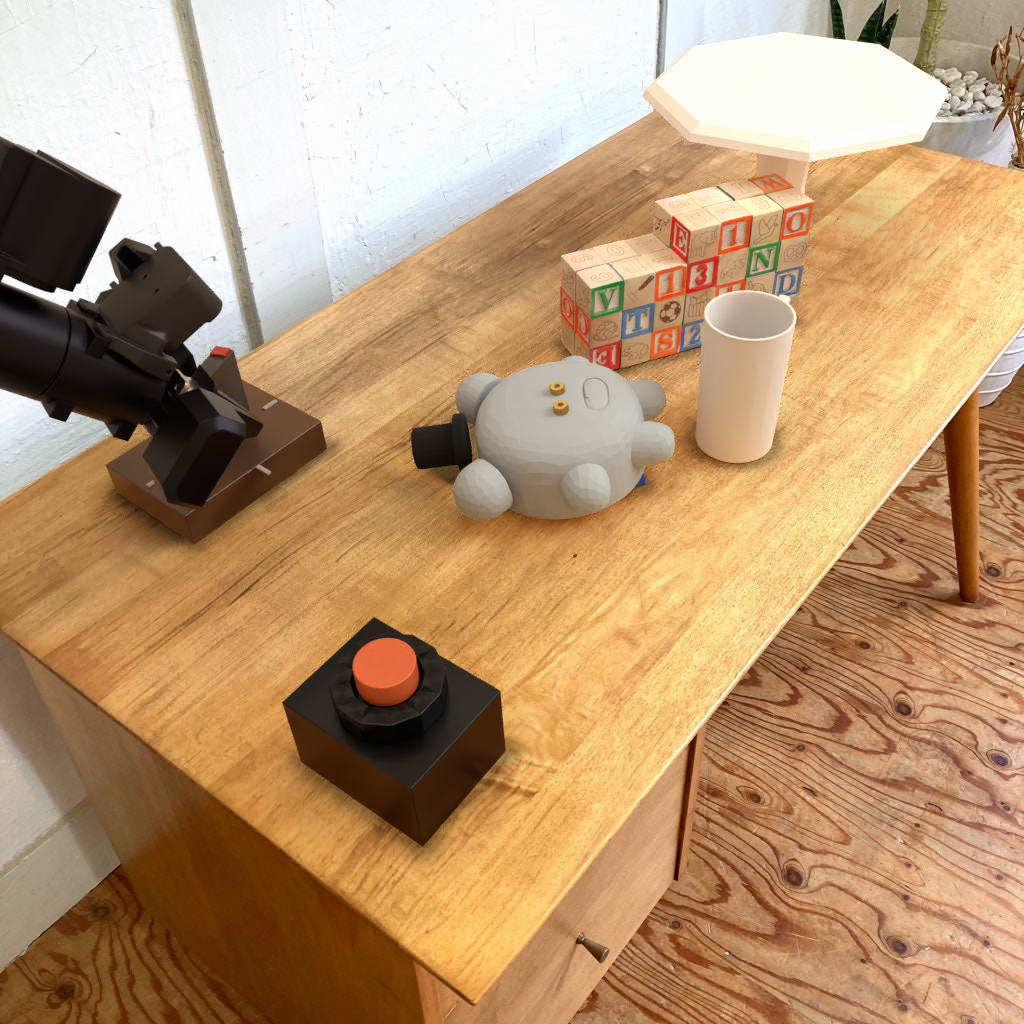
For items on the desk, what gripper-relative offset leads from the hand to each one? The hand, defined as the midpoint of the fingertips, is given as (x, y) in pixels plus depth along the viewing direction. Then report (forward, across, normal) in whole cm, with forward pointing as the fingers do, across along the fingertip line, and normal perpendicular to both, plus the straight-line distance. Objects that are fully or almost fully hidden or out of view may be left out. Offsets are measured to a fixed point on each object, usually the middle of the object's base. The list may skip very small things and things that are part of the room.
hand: (258, 428), depth 73 cm
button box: (+6, -22, +9) cm, 25 cm away
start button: (0, -22, +4) cm, 23 cm away
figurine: (+22, -5, -6) cm, 23 cm away
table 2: (+50, +10, -35) cm, 61 cm away
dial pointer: (+5, +10, +6) cm, 13 cm away
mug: (+33, -11, -18) cm, 40 cm away
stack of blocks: (+37, +3, -22) cm, 43 cm away
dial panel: (+7, +10, +8) cm, 15 cm away
